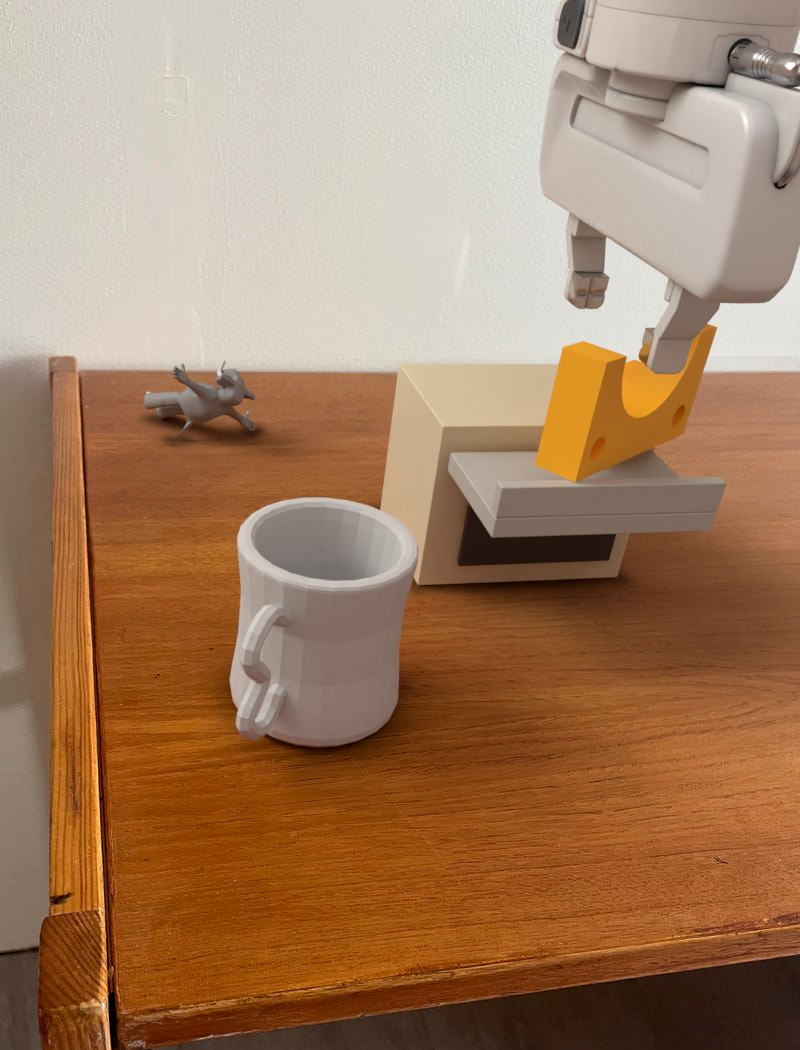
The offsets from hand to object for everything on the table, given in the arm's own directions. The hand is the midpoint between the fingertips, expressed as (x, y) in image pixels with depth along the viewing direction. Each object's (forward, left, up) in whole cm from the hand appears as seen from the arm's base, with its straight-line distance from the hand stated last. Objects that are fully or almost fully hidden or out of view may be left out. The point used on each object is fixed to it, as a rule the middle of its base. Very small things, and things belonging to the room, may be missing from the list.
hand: (618, 334), depth 54 cm
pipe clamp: (-1, -1, -7) cm, 7 cm away
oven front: (0, -5, -18) cm, 19 cm away
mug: (+17, +8, -18) cm, 26 cm away
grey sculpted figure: (+19, -27, -18) cm, 38 cm away
